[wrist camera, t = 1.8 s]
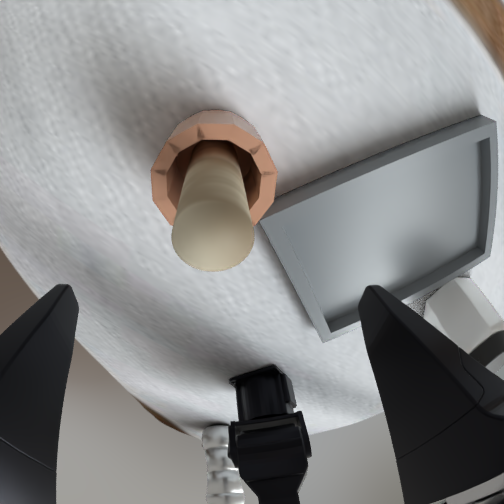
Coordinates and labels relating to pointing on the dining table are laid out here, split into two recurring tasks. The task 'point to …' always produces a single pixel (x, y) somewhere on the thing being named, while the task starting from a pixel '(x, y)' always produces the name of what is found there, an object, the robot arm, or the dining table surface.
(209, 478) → the plastic bottle
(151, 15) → the dining table surface
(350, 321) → the tray
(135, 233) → the dining table surface
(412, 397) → the robot arm
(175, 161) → the cup
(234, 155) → the pin
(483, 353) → the jar
